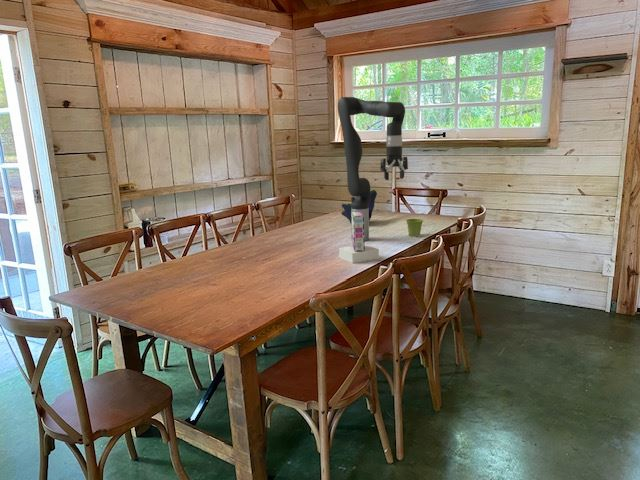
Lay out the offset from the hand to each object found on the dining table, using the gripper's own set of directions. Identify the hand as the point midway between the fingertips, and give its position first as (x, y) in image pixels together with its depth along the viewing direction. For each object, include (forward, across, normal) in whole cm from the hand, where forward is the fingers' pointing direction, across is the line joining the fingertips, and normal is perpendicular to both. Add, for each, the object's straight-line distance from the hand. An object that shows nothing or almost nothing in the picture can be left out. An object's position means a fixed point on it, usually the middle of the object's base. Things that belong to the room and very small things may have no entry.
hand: (394, 179), depth 229 cm
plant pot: (+34, -25, -17) cm, 46 cm away
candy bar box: (+30, +25, +8) cm, 40 cm away
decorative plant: (+34, -19, -68) cm, 79 cm away
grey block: (+35, +25, +8) cm, 43 cm away
